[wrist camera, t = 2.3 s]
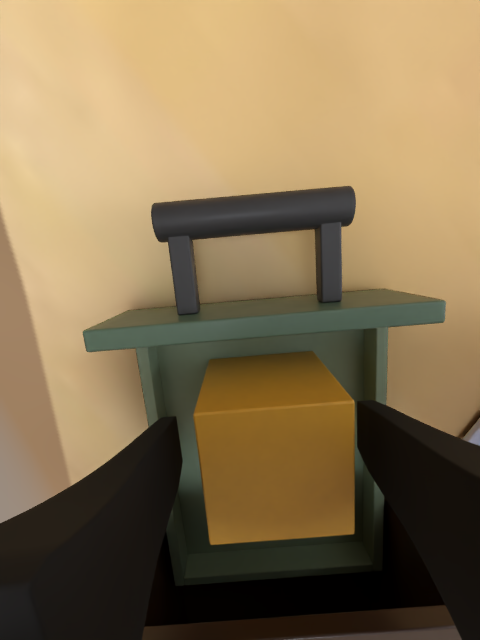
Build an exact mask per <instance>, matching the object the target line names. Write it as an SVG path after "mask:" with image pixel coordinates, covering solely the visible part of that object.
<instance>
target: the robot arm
mask: <svg viewBox="0 0 480 640" xmlns="http://www.w3.org/2000/svg"><path fill="white" fill-rule="evenodd" d="M357 448H358V450H359V452H360V455H361V457H362V459H363V461H364V463H365V465H366V467H367V469H368V471H369V473H370V475H371V476H372V478H373V479H374V481H375V483H376V484H377V486H378V487H379V489H380V491H381V492H382V494H383V495H384V497H385V498H386V500H387V501H388V503H389V505H390V506H391V508H392V509H393V511H394V512H395V514H396V516H397V517H398V519H399V520H400V522H401V523H402V525H403V526H404V528H405V530H406V531H407V533H408V535H409V536H410V538H411V540H412V541H413V543H414V545H415V547H416V549H417V551H418V553H419V555H420V556H421V558H422V560H423V562H424V564H425V566H426V568H427V570H428V572H429V574H430V576H431V578H432V580H433V582H434V584H435V586H436V588H437V590H438V592H439V594H440V596H441V598H442V600H443V602H444V604H445V606H446V608H447V610H448V612H449V614H450V616H451V618H452V620H453V622H454V624H455V626H456V628H457V630H458V632H459V635H460V637H461V639H462V640H480V418H479V419H478V420H477V422H476V423H475V424H474V425H473V427H472V428H471V429H470V430H469V431H468V433H467V434H466V435H465V436H464V437H463V439H460V438H457V437H454V436H452V435H450V434H447V433H445V432H443V431H440V430H438V429H435V428H433V427H431V426H429V425H426V424H424V423H422V422H420V421H418V420H416V419H414V418H411V417H409V416H407V415H405V414H403V413H401V412H399V411H397V410H395V409H393V408H391V407H388V406H386V405H384V404H382V403H379V402H377V401H374V400H365V401H357ZM182 463H183V459H182V452H181V445H180V438H179V431H178V424H177V417H176V416H172V417H161V418H160V419H158V420H157V421H156V422H155V423H153V424H152V425H151V426H150V427H149V428H148V429H147V430H145V431H144V432H143V433H142V434H141V435H140V436H139V437H137V438H136V439H135V440H134V441H133V442H132V443H130V444H129V445H128V446H127V447H126V448H124V449H123V450H122V451H120V452H119V453H118V454H117V455H115V456H114V457H113V458H112V459H110V460H109V461H108V462H106V463H105V464H104V465H102V466H101V467H100V468H98V469H97V470H95V471H94V472H92V473H91V474H89V475H88V476H86V477H85V478H83V479H82V480H80V481H79V482H77V483H76V484H74V485H72V486H71V487H69V488H67V489H65V490H64V491H62V492H60V493H58V494H57V495H55V496H54V497H52V498H50V499H48V500H46V501H45V502H43V503H41V504H39V505H37V506H35V507H33V508H32V509H29V510H27V511H26V512H23V513H21V514H19V515H17V516H15V517H13V518H11V519H9V520H7V521H5V522H2V523H0V640H142V636H143V631H144V626H145V620H146V615H147V610H148V604H149V599H150V594H151V589H152V584H153V579H154V574H155V569H156V564H157V560H158V556H159V552H160V549H161V545H162V542H163V538H164V535H165V532H166V528H167V525H168V522H169V518H170V515H171V511H172V508H173V505H174V501H175V498H176V494H177V491H178V487H179V482H180V476H181V470H182Z"/></svg>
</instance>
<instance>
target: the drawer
mask: <svg viewBox="0 0 480 640" xmlns="http://www.w3.org/2000/svg"><path fill="white" fill-rule="evenodd" d="M355 207H356V199H355V193H354V190H353V188H352V187H350V186H343V187H331V188H320V189H309V190H298V191H286V192H275V193H264V194H252V195H241V196H230V197H219V198H207V199H196V200H185V201H174V202H162V203H154V204H153V205H152V209H151V217H152V224H153V229H154V232H155V235H156V237H157V239H158V241H159V242H168V245H169V253H170V261H171V268H172V276H173V283H174V291H175V298H176V306H174V307H162V308H151V309H139V310H128V311H126V312H124V313H122V314H119V315H117V316H115V317H113V318H111V319H108V320H106V321H104V322H102V323H100V324H97V325H95V326H93V327H91V328H89V329H86V330H84V331H83V337H84V342H85V346H86V351H87V352H97V351H110V350H122V349H134V348H136V354H137V360H138V366H139V372H140V378H141V384H142V390H143V396H144V402H145V408H146V413H147V419H148V425H149V427H150V426H151V425H152V424H153V423H155V422H156V421H157V420H158V419H160V418H161V417H172V416H176V417H177V424H178V431H179V438H180V445H181V452H182V459H183V463H182V470H181V476H180V482H179V487H178V491H177V494H176V498H175V501H174V505H173V508H172V511H171V515H170V518H169V522H168V525H167V528H166V533H167V539H168V545H169V551H170V557H171V563H172V569H173V575H174V581H175V586H184V585H196V584H210V583H223V582H237V581H250V580H264V579H277V578H291V577H304V576H318V575H332V574H345V573H359V572H371V571H372V570H373V571H382V562H383V520H384V495H383V494H382V492H381V491H380V489H379V487H378V486H377V484H376V483H375V481H374V479H373V478H372V476H371V475H370V473H369V471H368V469H367V467H366V465H365V463H364V461H363V459H362V457H361V455H360V452H359V450H358V448H357V401H365V400H374V401H377V402H379V403H382V404H384V405H386V393H387V351H388V327H398V326H410V325H422V324H434V323H443V322H444V321H445V308H446V302H445V301H444V300H440V299H435V298H430V297H425V296H420V295H414V294H409V293H404V292H399V291H394V290H388V289H375V290H363V291H351V292H342V256H341V227H344V226H349V225H350V224H351V223H352V221H353V218H354V214H355ZM310 229H315V249H316V284H317V294H316V295H304V296H292V297H280V298H269V299H257V300H245V301H233V302H221V303H210V304H200V303H199V294H198V285H197V277H196V268H195V259H194V251H193V242H192V240H195V239H207V238H218V237H230V236H241V235H253V234H264V233H276V232H287V231H299V230H310ZM305 351H313V352H314V353H315V354H316V355H317V357H318V358H319V359H320V360H321V361H322V363H323V364H324V365H325V366H326V367H327V369H328V370H329V371H330V372H331V374H332V375H333V376H334V377H335V378H336V380H337V381H338V382H339V383H340V384H341V386H342V387H343V388H344V389H345V390H346V392H347V393H348V394H349V395H350V396H351V398H352V399H353V400H354V402H355V533H354V534H353V535H340V536H326V537H313V538H300V539H287V540H273V541H260V542H247V543H233V544H220V545H211V544H210V541H209V534H208V526H207V518H206V510H205V503H204V495H203V487H202V480H201V472H200V464H199V457H198V449H197V441H196V434H195V426H194V418H193V414H194V411H195V407H196V404H197V400H198V397H199V393H200V390H201V386H202V383H203V380H204V376H205V373H206V369H207V366H208V362H209V360H210V359H220V358H232V357H244V356H256V355H268V354H280V353H292V352H305Z"/></svg>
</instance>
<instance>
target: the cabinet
mask: <svg viewBox="0 0 480 640" xmlns="http://www.w3.org/2000/svg"><path fill="white" fill-rule="evenodd" d="M142 640H462V639H461V637H460V635H459V632H458V630H457V628H456V626H455V624H454V622H453V620H452V618H451V616H450V614H449V612H448V610H447V608H446V606H445V604H444V602H443V600H442V598H441V596H440V594H439V592H438V590H437V588H436V586H435V584H434V582H433V580H432V578H431V576H430V574H429V572H428V570H427V568H426V566H425V564H424V562H423V560H422V558H421V556H420V555H419V553H418V551H417V549H416V547H415V545H414V543H413V541H412V540H411V538H410V536H409V535H408V533H407V531H406V530H405V528H404V526H403V525H402V523H401V522H400V520H399V519H398V517H397V516H396V514H395V512H394V511H393V509H392V508H391V506H390V505H389V503H388V501H387V500H386V498H385V497H384V520H383V562H382V571H373V570H372V571H371V572H359V573H345V574H332V575H318V576H304V577H291V578H277V579H264V580H250V581H237V582H223V583H210V584H196V585H184V586H175V581H174V575H173V569H172V563H171V557H170V551H169V545H168V539H167V533H166V532H165V535H164V538H163V542H162V545H161V549H160V552H159V556H158V560H157V564H156V569H155V574H154V579H153V584H152V589H151V594H150V599H149V604H148V610H147V615H146V620H145V626H144V631H143V636H142Z"/></svg>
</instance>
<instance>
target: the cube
mask: <svg viewBox="0 0 480 640" xmlns="http://www.w3.org/2000/svg"><path fill="white" fill-rule="evenodd" d="M193 418H194V426H195V434H196V441H197V449H198V457H199V464H200V472H201V480H202V487H203V495H204V503H205V510H206V518H207V526H208V534H209V541H210V544H211V545H220V544H233V543H247V542H260V541H273V540H287V539H300V538H313V537H326V536H340V535H353V534H354V533H355V402H354V400H353V399H352V398H351V396H350V395H349V394H348V393H347V392H346V390H345V389H344V388H343V387H342V386H341V384H340V383H339V382H338V381H337V380H336V378H335V377H334V376H333V375H332V374H331V372H330V371H329V370H328V369H327V367H326V366H325V365H324V364H323V363H322V361H321V360H320V359H319V358H318V357H317V355H316V354H315V353H314V352H313V351H305V352H292V353H280V354H268V355H256V356H244V357H232V358H220V359H210V360H209V362H208V366H207V369H206V373H205V376H204V380H203V383H202V386H201V390H200V393H199V397H198V400H197V404H196V407H195V411H194V414H193Z"/></svg>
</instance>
